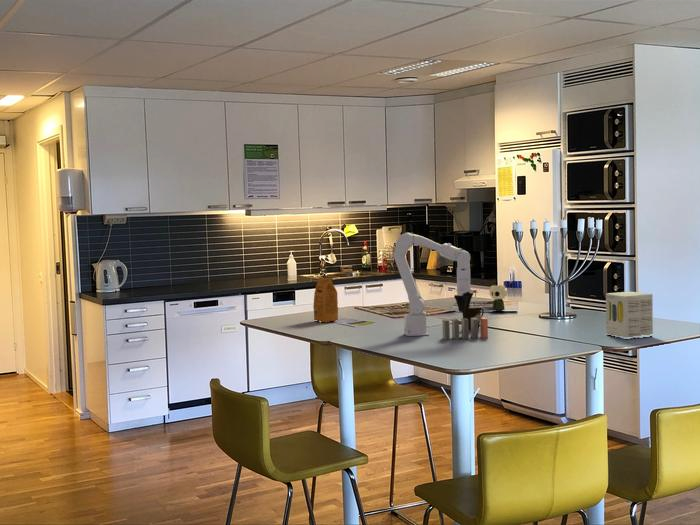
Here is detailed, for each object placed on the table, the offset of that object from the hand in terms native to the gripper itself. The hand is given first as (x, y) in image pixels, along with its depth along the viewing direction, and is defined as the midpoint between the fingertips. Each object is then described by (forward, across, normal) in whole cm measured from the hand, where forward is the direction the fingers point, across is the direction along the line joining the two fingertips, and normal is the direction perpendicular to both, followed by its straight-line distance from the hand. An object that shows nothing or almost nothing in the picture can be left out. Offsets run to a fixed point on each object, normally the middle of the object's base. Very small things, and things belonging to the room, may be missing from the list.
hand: (464, 310), depth 357 cm
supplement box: (+10, +7, -66) cm, 67 cm away
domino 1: (+10, -12, +1) cm, 15 cm away
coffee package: (+11, +26, +76) cm, 81 cm away
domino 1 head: (+10, -14, +4) cm, 17 cm away
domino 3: (+10, -8, -6) cm, 14 cm away
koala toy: (+10, +75, +1) cm, 76 cm away
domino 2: (+10, -10, -3) cm, 14 cm away
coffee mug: (+10, +15, -1) cm, 18 cm away
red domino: (+10, -6, -10) cm, 15 cm away
